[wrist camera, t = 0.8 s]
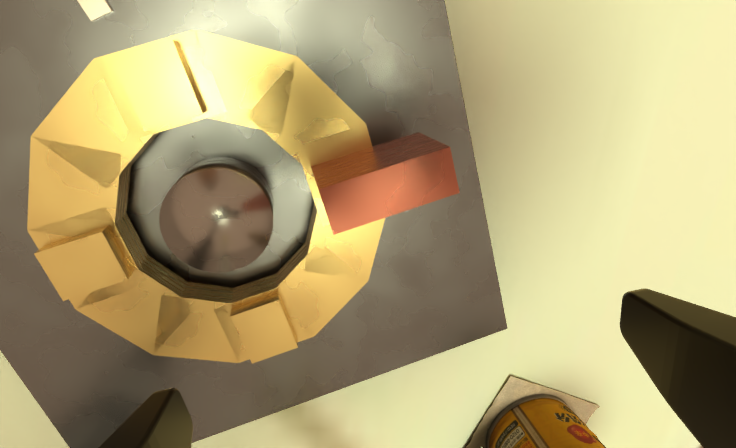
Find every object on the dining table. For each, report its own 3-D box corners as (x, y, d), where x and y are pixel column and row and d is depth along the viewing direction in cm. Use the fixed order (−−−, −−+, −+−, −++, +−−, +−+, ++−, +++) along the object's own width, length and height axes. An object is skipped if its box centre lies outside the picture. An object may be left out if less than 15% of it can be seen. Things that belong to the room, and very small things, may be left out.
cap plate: (102, 454, 24) (70, 527, 20) (-206, 0, 16) (-358, -21, 12) (494, 313, 25) (532, 356, 22) (398, -160, 17) (432, -222, 14)
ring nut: (140, 379, 20) (101, 469, 16) (-26, 97, 16) (-148, 110, 11) (444, 273, 22) (488, 329, 17) (373, -18, 17) (408, -49, 12)
